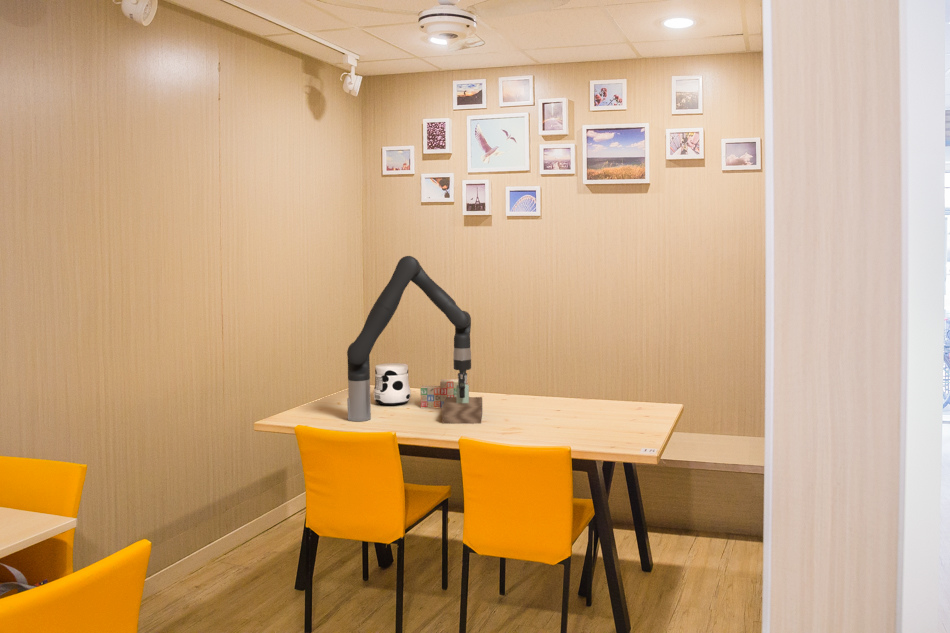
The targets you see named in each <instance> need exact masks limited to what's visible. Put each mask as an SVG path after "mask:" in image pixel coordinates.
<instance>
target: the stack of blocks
mask: <svg viewBox="0 0 950 633" xmlns="http://www.w3.org/2000/svg"><path fill="white" fill-rule="evenodd" d="M457 385H459V384H458V378H455V379H454V378H453V379H443V378H441V379H440V383H439V385H422V386H421V387H420V408H421V407H440V408H439V409H442V406H443V404H444V401H445V398H446V397H457V391H456V387H457ZM466 385H469V381H468V379H467V382H466Z"/></svg>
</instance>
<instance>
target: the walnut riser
mask: <svg viewBox="0 0 950 633" xmlns="http://www.w3.org/2000/svg"><path fill="white" fill-rule="evenodd" d="M441 411H442V413H441V414H442V415H441V416H442V418H441V419H442V424H482V419H483V418H482V417H483V397H482V396H474V397H473V396H469V403H457V397H446V398H445V401H444V404H443V406H442V408H441Z"/></svg>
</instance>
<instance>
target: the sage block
mask: <svg viewBox="0 0 950 633" xmlns="http://www.w3.org/2000/svg"><path fill="white" fill-rule="evenodd" d="M460 386H463V385H460ZM456 391H457V403H469V397H470V386H469V384H468V385H465V398H460V393H459V385H457V387H456Z"/></svg>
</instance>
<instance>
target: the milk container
mask: <svg viewBox="0 0 950 633" xmlns="http://www.w3.org/2000/svg"><path fill="white" fill-rule="evenodd" d="M374 368H375V369H374V372H375V373H374V379H375V380H374V382H375V384H374V389H373V399H374V401H375V403H377V404H380V405H383V406H394V405H395V406H397V405H402V404H405V403H408V402H409V401H410V399H411V395H412V394H411V393H412V392H411V391H412V390H411V388H410V384H409V383H410V382H409V366H408V364H407V363H402V362H389V363H387V362H385V363H379V364H376V365H375V367H374Z"/></svg>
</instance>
